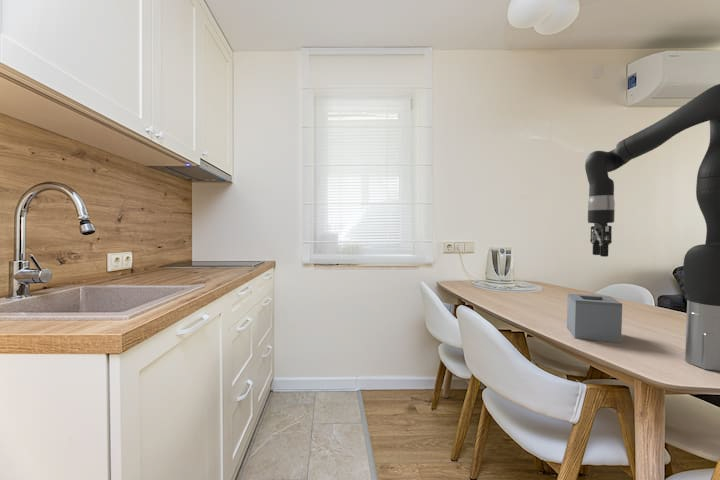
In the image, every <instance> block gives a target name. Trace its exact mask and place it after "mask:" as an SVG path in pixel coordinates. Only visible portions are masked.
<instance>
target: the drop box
mask: <svg viewBox="0 0 720 480" xmlns="http://www.w3.org/2000/svg"><path fill="white" fill-rule="evenodd" d="M566 303H567V306H566V307H567V309H566V311H567V313H566V328H567V330H568V331H569V332H570V334H571V335H572V337H573V338H574V339H580V340H591V341H598V342H599V341H600V342H608V343H619V344H622V331H623V330H622V329H623V327H622V326H623V322H622V321H623V303H622V302H620V300H619V301H618V300H617V299H615V298H614V297H611V296H609V295H599V294H598V295H595V294H583V293H582V294H579V293H567V302H566Z"/></svg>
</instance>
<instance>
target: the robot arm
mask: <svg viewBox="0 0 720 480" xmlns="http://www.w3.org/2000/svg"><path fill="white" fill-rule="evenodd" d="M705 122H709V143H708V148H707V150H706V152H705V154H704V156H703V158H702V161H701V163H700V165H699V168H698V170H697V175H696V186H695V187H696V189H695V194H696V196H695V197H696V202H697V203H698V207H699V209H700V211H701V213H702V216H703V219H704V221H705V225H706V232H705V233H706V235H705V241H704V242H705V244H704V243H702V244H697V245H694V246H692V247H691V248H689V249H688V250H687V251H686V253H685V255H684V259H683V264H682V265H683V267H682V269H683V272H682V273H683V289H684V290H685V293H686V296H687V300H686V301H687V303H686V324H685V325H686V326H685V327H686V329H685V350H684V351H685V352H684V353H685V354H684V355H685V356H684V360H685V362H686V363H688V364H691V365H693V366H696V367H699V368H702V369H703V370H710V371H717V372H720V83H719V84H715V85H713V86H711V87H710V88H707V89H705V91H703V92H701V93H699V94H698V95H697V96H695V97H694V98H692V99H691V100H689V101H687V103H685V104H683V105H682V106H681V107H679V108H678V109H676V110H675V111H673V112H671V113H670V114H668V115H667V116H665V117H663V118H662V119H660V120H658V121H656V122H655V123H653V124H651V125H649V126H647V127H645V128H644V129H642V130H639V131H638V132H636V133H634V134H632V135H629V136H627V137H625V138H624V139H622V140H621V141H619V142H617V144H616V146H615V148H614V149H612V150H609V151H604V150H594V151H592V152H591V153H589V154H588V156H587V157H586V160H585V163H584V167H585V168H584V169H585V172H586V178H587V182H588V185H589V186H588V187H589V189H588V203H587V223H588V224H593V225H594V226H590V240H589V242H590V243H591V244H592V255H593V256H600V257H608V256H609V246H610V244H612V232H613V231H612V229H613V227H612V225H608V224H614V222H615V210H616V209H615V205H616V204H615V203H616V202H615V183H614V180H613V179H612V178H610V176H609V173H611V172H614V171H616V170H618V169H620V168H621V167H623V166H624V165H626V164H628V163H629V162H630V161H631V160H635V159H636V158H638V157H641V156H643V155H644V154H647V153H650V152H651V151H653V150H655V149H657V148H659V147H660V146H662V145H663V144H665V143H666V142H668V141H669V140H671V139H672V138H673V137H674V136H676V135H678V134H680V133H681V132H683V131H685V130H687V129H689V128H692V127H695V126H697V125H701V124H703V123H705Z"/></svg>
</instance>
